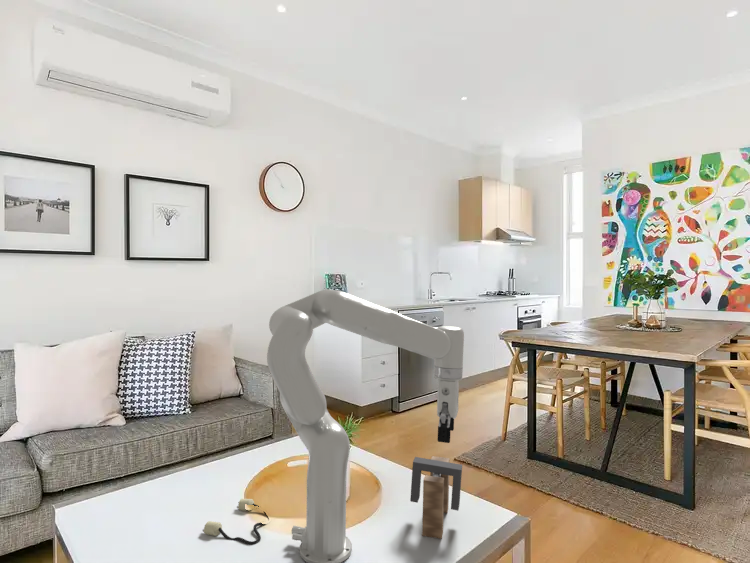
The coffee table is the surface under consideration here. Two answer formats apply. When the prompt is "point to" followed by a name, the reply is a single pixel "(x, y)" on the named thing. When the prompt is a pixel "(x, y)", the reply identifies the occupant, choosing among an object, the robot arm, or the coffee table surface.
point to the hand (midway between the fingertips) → (445, 435)
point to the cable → (216, 527)
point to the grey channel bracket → (439, 468)
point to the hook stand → (435, 502)
